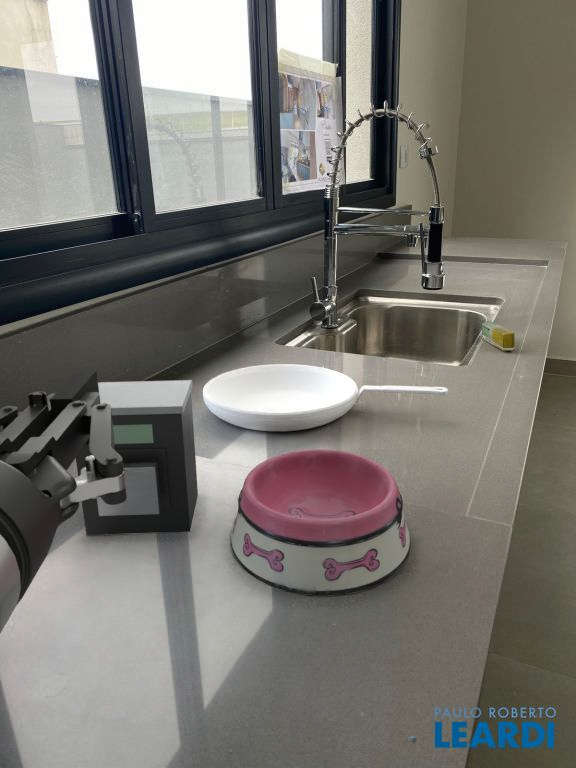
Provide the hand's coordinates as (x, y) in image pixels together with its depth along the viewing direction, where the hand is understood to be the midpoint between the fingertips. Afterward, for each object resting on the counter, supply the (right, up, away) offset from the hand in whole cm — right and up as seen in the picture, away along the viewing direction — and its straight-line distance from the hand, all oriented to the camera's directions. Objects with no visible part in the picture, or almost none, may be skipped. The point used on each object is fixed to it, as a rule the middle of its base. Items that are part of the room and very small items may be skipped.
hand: (88, 387), depth 48 cm
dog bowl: (+19, -16, +15) cm, 29 cm away
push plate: (0, -13, +13) cm, 18 cm away
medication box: (+63, +9, +87) cm, 107 cm away
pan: (+22, -4, +50) cm, 55 cm away
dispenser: (0, -14, +20) cm, 25 cm away
